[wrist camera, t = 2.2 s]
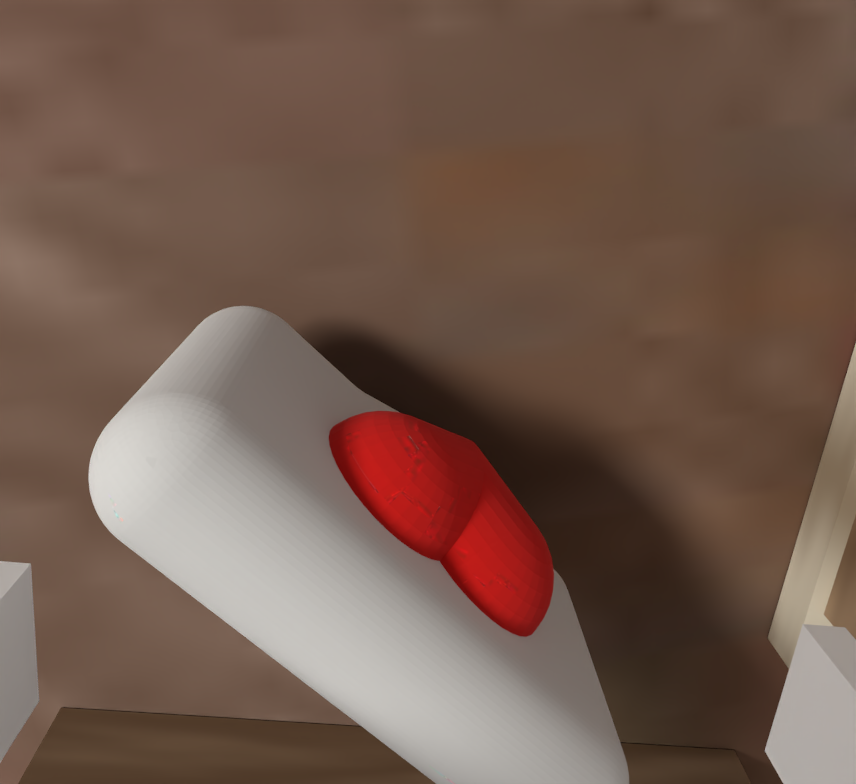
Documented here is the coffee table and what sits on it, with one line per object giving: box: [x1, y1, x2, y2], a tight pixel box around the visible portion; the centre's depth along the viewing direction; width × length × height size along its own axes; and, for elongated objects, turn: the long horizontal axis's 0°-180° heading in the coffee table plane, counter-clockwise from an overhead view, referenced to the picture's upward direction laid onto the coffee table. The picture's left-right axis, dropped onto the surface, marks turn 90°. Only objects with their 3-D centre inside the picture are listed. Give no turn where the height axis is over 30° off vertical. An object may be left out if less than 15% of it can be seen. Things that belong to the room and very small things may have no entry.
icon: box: [89, 306, 629, 784], centre depth 18 cm, size 12×4×10 cm, turn 44°
